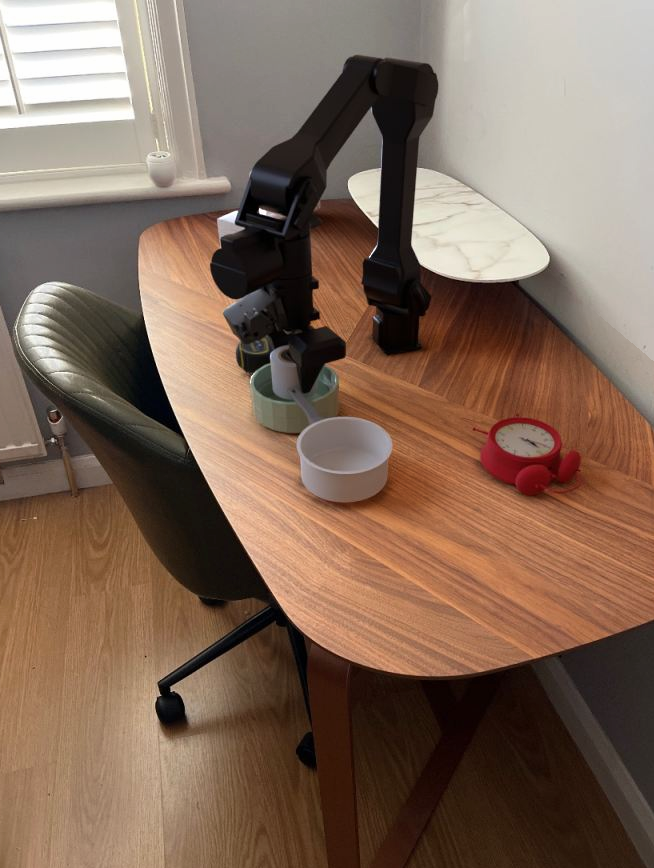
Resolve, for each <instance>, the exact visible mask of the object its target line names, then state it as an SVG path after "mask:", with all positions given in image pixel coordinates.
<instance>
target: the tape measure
mask: <svg viewBox="0 0 654 868" xmlns="http://www.w3.org/2000/svg"><path fill="white" fill-rule="evenodd" d="M272 352H273V349H272V346H271V344H270V341H269V339H268V336H266V337H264V338H263V339H261V340H259V341H254V342H253V343H251V344H247V345H246V344H243V343H242V342H241V341H239V343H238V344H237V346H236V348H235V359H236V363H237V365H238V367H239V368H240V369H241V370H242V371H244V372H246V373H249V374H254V373H255V372H256V370H258V369H260V368H261V367H263V366H264V365H267V364H269V363H271V361H270V355H271V353H272Z"/></svg>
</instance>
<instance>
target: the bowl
mask: <svg viewBox="0 0 654 868" xmlns="http://www.w3.org/2000/svg"><path fill="white" fill-rule="evenodd" d="M249 390H250V399H251V409H252V414H253V417H254V418H255V420H256V422H258V423H259V424H260V425H262V426H263V427H265V428H268V429H270V430H272V431H276V432H279V433H283V434H301V432H302V431H303V430H304V429H306V428H307V427H308V426H310V424H309V421H308V419H307V416H306V414H305V412H304V411H303V410H302V409H301V408H300V406H299V405H298V404H297V403H296V402H295V400H288V399H284V398H281V397H279V396H277V395H276V394H275V393H274V392H273V386H272V373H271V363H269V364H267V365H264V366H263V367H261V368H260V369H258V370H256V372H255V373H252V375H251V377H250V381H249ZM305 399H306V400H307V401H308V402H309V403H310V404H311V405H312V406H313V407H314V408H315V409H316V411H317V412H318V413H319V414H320V416H321V417H323V418H325V419H328V418H334V417H338V414H339V412H340V377H339V375H338V373H337V372H336V371H335V369H334V368H332V367H330V366H329V365H327V363H326V364H325V365H324V366H323V368H322V370H321V372H320V374H319V376H318V390H317V392H316V393H315V394H314V395H312V396H310V397H308V398H305Z"/></svg>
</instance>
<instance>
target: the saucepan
mask: <svg viewBox="0 0 654 868" xmlns="http://www.w3.org/2000/svg"><path fill="white" fill-rule="evenodd" d="M287 392H288V393H289V395H290V396H291V397H292V398H293V399H294V400H295V402H296V403H297V404H298V405H299V406H300V408H301V409H302V410H303V411H304V412H305V414H306V416H307V419H308V421H309V424H310V426H308V427H307V428H306V429H304V430H303V431H302V432H301V433H299V435H298V437H297V439H296V450H297V454H298V455H299V458H300V477H301V482H302V484H303V485H304V488H305V489H306V490H308V491H309V492H310V493H311V494H313V495H314V496H316V497H318V498H320V499H323V500H325V501H329V502H333V503H335V502H336V503H354V502H361V501H364V500H367V499H369V498H371V497H374V496H375V495H377V494H378V493H380V491H382V489H383V488H384V487H385V486H386V484H387V482H388V476H389V458H390V456H391V454H392V452H393V451H392V450H393V440H392V438H391V436H390V434H389V433H388V432H387V430H385V428H383V426H381V425H379V424H376V423H375V422H373V421H370V420H368V419H364V418H360V417H354V416H336V417H334V418H328V419H325V418H323V417H321V416H320V414H319V413H318V412H317V411H316V409H315V408H314V407H313V406H312V405H311V404H310V403H309V402H308V401H307V400H306V399H305V397H304V396H303V395H302V394H301V393H300V392H299V391H298V390H297V389H296V388H295V387H291V388H288V389H287Z"/></svg>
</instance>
